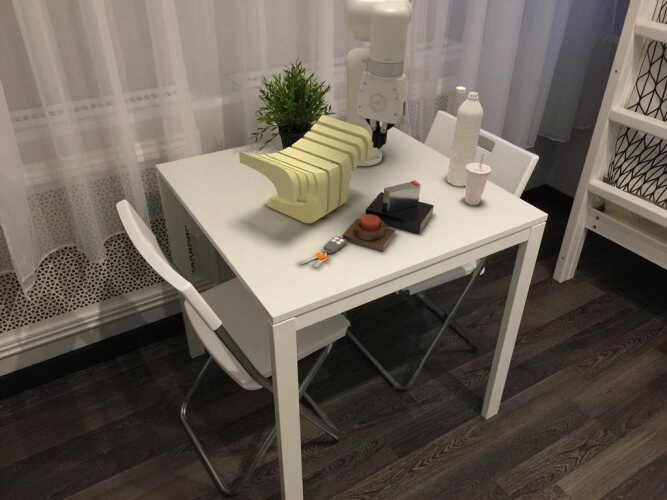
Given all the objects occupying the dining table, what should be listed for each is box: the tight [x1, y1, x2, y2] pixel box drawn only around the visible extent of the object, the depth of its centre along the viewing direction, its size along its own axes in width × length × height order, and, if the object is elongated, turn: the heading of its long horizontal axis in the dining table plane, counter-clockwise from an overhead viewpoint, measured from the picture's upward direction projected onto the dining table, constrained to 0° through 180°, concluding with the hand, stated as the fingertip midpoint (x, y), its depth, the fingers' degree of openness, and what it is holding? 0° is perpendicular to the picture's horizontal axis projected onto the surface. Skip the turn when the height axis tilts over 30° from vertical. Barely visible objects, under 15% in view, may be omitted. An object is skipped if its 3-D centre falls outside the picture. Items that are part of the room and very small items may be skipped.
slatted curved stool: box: [238, 114, 372, 224], centre depth 143 cm, size 30×16×18 cm, turn 142°
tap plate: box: [364, 191, 435, 235], centre depth 144 cm, size 14×10×3 cm
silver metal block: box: [382, 179, 421, 213], centre depth 142 cm, size 9×2×6 cm, turn 119°
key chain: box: [300, 235, 348, 268], centre depth 130 cm, size 13×4×2 cm, turn 145°
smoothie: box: [464, 151, 492, 206], centre depth 149 cm, size 6×6×14 cm
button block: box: [342, 217, 396, 253], centre depth 136 cm, size 10×8×4 cm
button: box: [360, 214, 380, 231], centre depth 135 cm, size 4×4×2 cm
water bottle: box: [446, 86, 484, 187], centre depth 156 cm, size 9×6×25 cm
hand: (378, 146), depth 135 cm, fingers closed
